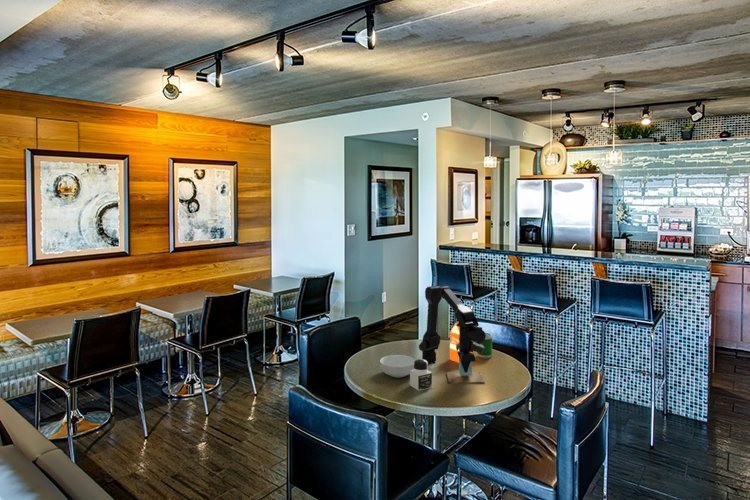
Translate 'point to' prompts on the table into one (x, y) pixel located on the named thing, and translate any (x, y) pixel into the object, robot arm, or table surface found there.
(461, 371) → the pale teal block
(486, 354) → the soda can
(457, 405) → the table surface
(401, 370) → the cereal bowl
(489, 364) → the table surface
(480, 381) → the wooden base plate
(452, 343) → the orange juice
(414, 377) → the medicine bottle
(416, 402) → the table surface
